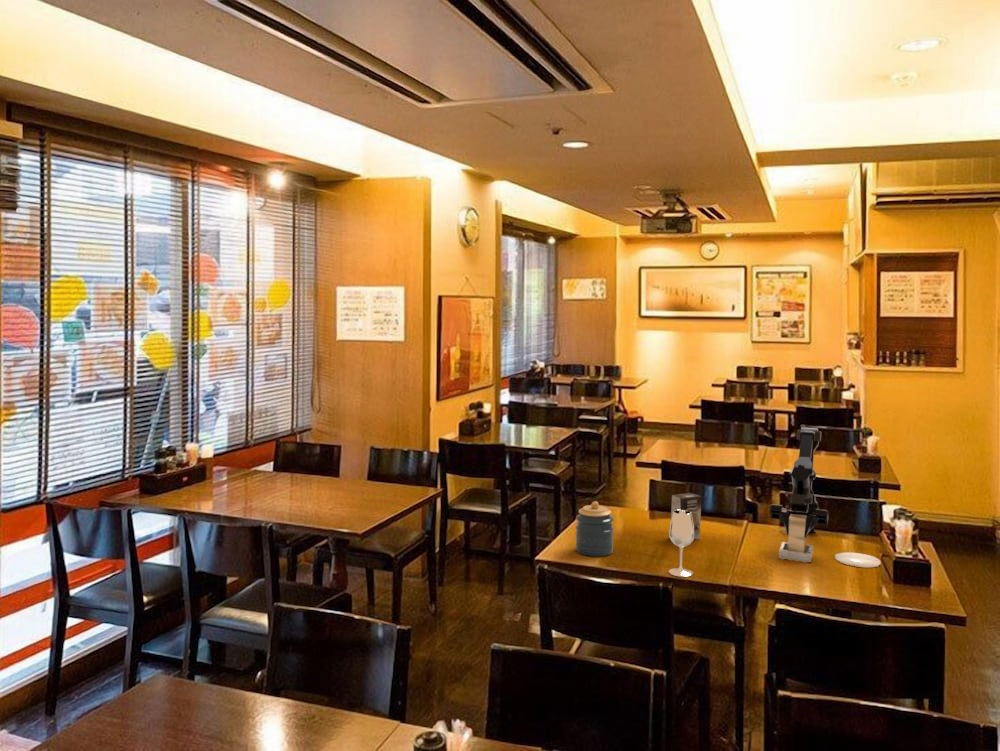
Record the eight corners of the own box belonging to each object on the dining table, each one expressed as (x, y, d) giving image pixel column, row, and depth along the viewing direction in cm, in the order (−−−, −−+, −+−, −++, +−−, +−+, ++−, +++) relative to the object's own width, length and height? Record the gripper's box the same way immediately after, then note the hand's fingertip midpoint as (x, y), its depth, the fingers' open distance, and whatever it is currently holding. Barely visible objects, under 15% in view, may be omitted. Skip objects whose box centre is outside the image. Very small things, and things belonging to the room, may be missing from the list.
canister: (620, 551, 277) (621, 501, 275) (598, 559, 268) (599, 508, 266) (590, 543, 286) (591, 495, 284) (567, 551, 276) (568, 501, 275)
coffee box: (681, 542, 287) (682, 498, 286) (669, 537, 293) (670, 494, 292) (700, 539, 292) (702, 495, 290) (689, 534, 297) (690, 491, 296)
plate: (867, 553, 275) (867, 552, 275) (888, 567, 261) (888, 565, 261) (827, 554, 275) (827, 552, 275) (847, 567, 261) (847, 566, 261)
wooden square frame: (782, 550, 279) (782, 542, 278) (812, 554, 274) (812, 545, 274) (778, 558, 270) (779, 550, 269) (810, 563, 265) (810, 554, 265)
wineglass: (666, 575, 253) (667, 513, 251) (670, 567, 260) (672, 507, 258) (691, 578, 250) (692, 516, 248) (694, 570, 257) (696, 510, 255)
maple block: (788, 553, 275) (790, 513, 274) (804, 555, 273) (806, 515, 272) (787, 557, 271) (789, 517, 269) (803, 559, 269) (805, 519, 267)
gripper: (771, 481, 277) (766, 520, 268) (829, 486, 269) (825, 527, 260) (773, 498, 285) (768, 536, 276) (829, 504, 277) (826, 544, 268)
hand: (796, 535), depth 270 cm, fingers closed on maple block, 5 cm apart
